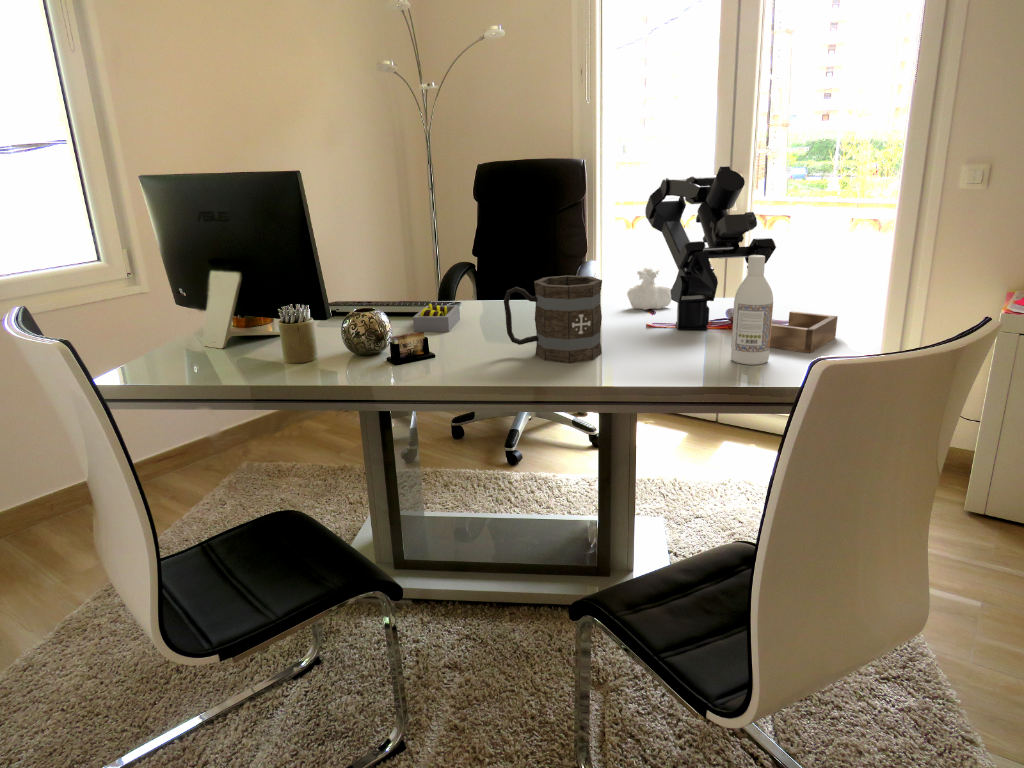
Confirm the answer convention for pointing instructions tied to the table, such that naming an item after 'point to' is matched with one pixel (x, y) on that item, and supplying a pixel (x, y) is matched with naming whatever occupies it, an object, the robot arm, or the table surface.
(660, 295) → the white tied sack
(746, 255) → the robot arm
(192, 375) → the table surface
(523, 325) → the table surface
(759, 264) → the bath foam
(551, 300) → the mug
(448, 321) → the valet tray
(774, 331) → the u rest
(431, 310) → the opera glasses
